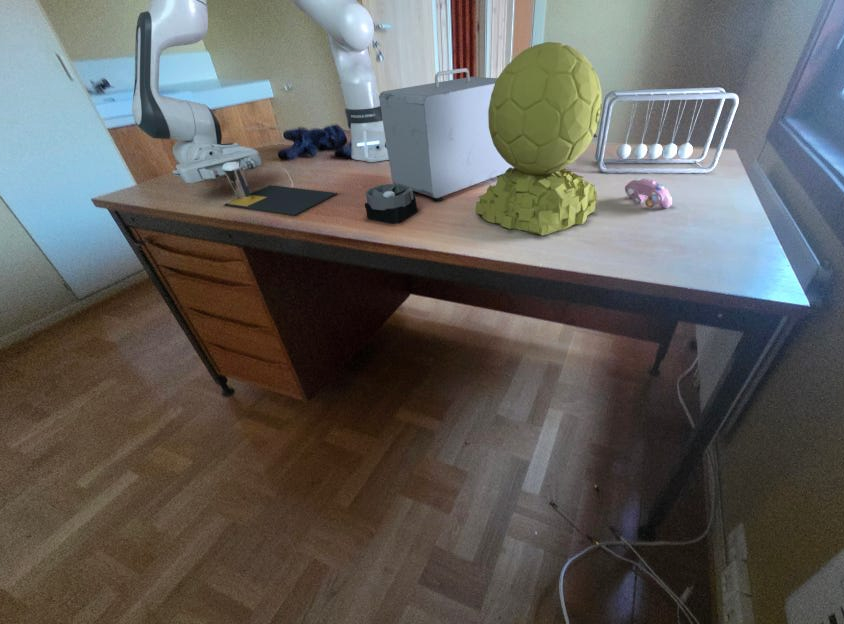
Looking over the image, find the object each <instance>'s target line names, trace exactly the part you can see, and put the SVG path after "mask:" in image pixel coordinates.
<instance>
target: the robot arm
mask: <svg viewBox="0 0 844 624" xmlns="http://www.w3.org/2000/svg"><path fill="white" fill-rule="evenodd" d="M290 1H291V3H293V4H294V5H295V6H296V7H297V8H298V9H299V10H300V11H301V12H303V13H304V14H305V15H306V16H307V17H309V18H310V19H311V20H312V21H314V22H315V23H316V24H317V25H318V26H319V27H320V28H322V29H323V30H324V31H325V32H326V34H327V39H328V42H329V46H330V49H331V50H330V51H331V54H332V58H333V60H334V64H335V67H336V70H337V75H338V78H339V82H340V87H341V91H342V96H343V100H344V106H345V109H344V114H345V115H344V116H345V120H346V123H347V126H348V129H349V135H350V147H351V148H350V150H351V151H350V158H351V159H352V160H356V161H363V162H366V163H367V162H368V163H376V162H383V161H389V157H388V151H387V145H386V139H385V132H384V126H383V120H382V114H381V107H380V101H379V96H380V92H379V86H378V80H377V79H378V78H377V75H376V71H375V70H374V66H373V62H372V59H371V56H370V52H369V47H370V45H371V44H372V42H373V39H374V36H375V26H374V21H373V19H372V16H371V15H370V12H369V11H368V10H367V9H366V8H365V6H364V5H362V4H361V3H360V2H359V1H358V0H290ZM207 2H208V1H207V0H150V3H149V6H148V8H147V10H146V11H142V12H139V15H138V17H137V20H136V27H135V45H134V46H135V48H134V49H135V50H134V86H133V97H132V106H131V112H132V117H133V121H134V123H135V125H136V126H137V127H138V128H139V129H140V130H141V131H142V132H143V133H145V134H146V135H147V136H149V137H150V138H151V139H158V140H175V141H176V142H175V144H174V145H173V146H172V154H173V157H174V159H175V161H176V162H177V163H178V164H175V170H174V169H173V170H172V172H171V174H172V175H173V176H175V177H176V176H177V177H180V180H182V181H183V183H186V184H187V185H194V184H198V183H202V182H205V181H213V182H221V181H223V180H226V178H227V177H226V175H225V173H224V171H223V169H222V167H223V165H224V164H225V163H227V162H238V163H239V159H240V164H241V165H242V168H243V171H247V170H254V169H256V168H259V167H261V166H262V165H263V163H264V162H263V159H262V156H261V154H260V152H259V150H257V149H255V148H253V147H248V146H243V145H240V144H239V143H237V142H229V143H222V141H223V139H222V137H223V135H222V128H221V124H220V121H219V119H218V117H217V115H215V113H214V112H213V110H212V109H211V108H210V107H209V106H208V105H207V104H205V103H199V102H195V101H191V100H185V99H180V98H176V97H170V96H166V95H162V94H160V92H159V86H160V85H159V84H160V60H161V59H160V58H161V55H162V53H163V52H164V51H165V50H167V49H169V48H173V47H181V46H189V45H190V46H191V45H194V44H197V43H199V42H201V41H202V40H204V38H205V37H206V35H207V33H208V30H209V11H208V3H207ZM593 138H598V135H597V134H596V133H595V134H594V136H593Z"/></svg>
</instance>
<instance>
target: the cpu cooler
mask: <svg viewBox="0 0 844 624" xmlns="http://www.w3.org/2000/svg"><path fill="white" fill-rule="evenodd" d="M365 198H366V202H365V203H364V208H365V212H366V217H367V220H372V221H377V222H383V223H387V224H396V223H399V224H400V223H402V222H403V221H405V220H406V219H408V218H409V217H412V216H413V215H415V214H416V213H418V205H417V198H416V195H415V196H414V191H413V188H412V187H408V186H406V185H403V184H393V183H386V184H381V185H376V186H373V187H370V188H368V189H367V191H366V192H365Z"/></svg>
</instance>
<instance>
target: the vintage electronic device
mask: <svg viewBox="0 0 844 624" xmlns="http://www.w3.org/2000/svg"><path fill="white" fill-rule="evenodd" d="M462 73H465V76H466V77H463V78H462V77H461V78H456V79H450V80H443V81H439V77H442V76H447V75H454V74H462ZM497 79H498V77H481V76H470V71H469V69H468V68H466V67H463V68H456V69H449V70H448V69H447V70H441V71H437V72H436V73H435V76H434V82H432V83H426V84H419V85H413V86H407V87H401V88H395V89H389V90H383V91H381V92H379V101H380V107H381V114H382V120H383V126H384V132H385V139H386V145H387V151H388V157H389V160H388V163H389V169H390V176H391V182H392V184H403V185H406V186H408V187H412V188H413V193H414V192H415V193H418V194H421V195H424V196H427V197H430V198H433V201H434V202H442V201H444V197H445V196H447V195H450V194H453V193H455V192H458V191H461V190H463V189H467V188H469V187H472V186H474V185H477V184H480V183H483V182H485V181H488V180H491V179H493V178H496V177H498V176H501V175H504V174H505V172H506V170H507V169H509V168H510V167H511V168H512V169H514V167H513V166H511V165H510V164H508V163H507V162H506V161H505V160H504V159H503V158H502V156H501V155H500V154H499V153H498V151H497V149H496V148H495V146H494V144H493V141H492V138H491V135H490V131H489V119H488V110H489V105H490V99H491V94H492V91H493V88H494V85H495V82H496V80H497Z"/></svg>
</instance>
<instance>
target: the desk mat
mask: <svg viewBox="0 0 844 624" xmlns="http://www.w3.org/2000/svg"><path fill="white" fill-rule="evenodd" d="M250 194H251V197H252V199H251V200H250V201H246V202H240V201H239V200H238V199H237V198H236V199H233V200H231V201H229V202H226V203H224V207H231V208H239V209H245V210H251V211H258V212H265V213H273V214H279V215H286V216H292V217H296V216H299V215H300V214H302V213H305V212H306V211H309V210H310V209H313V208H314V207H316V206H318V205H320V204H322V203H323V202H325V201H327V200H329V199H331V198H333V197H335V196H337V195H338V193H337V192H333V191H323V190H316V189H315V190H313V189H307V188H299V187H297V188H296V187H289V186H281V185H273V184H270V185H267V186H265V187H262V188H260V189H257V190H255V191H253V192H250Z"/></svg>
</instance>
